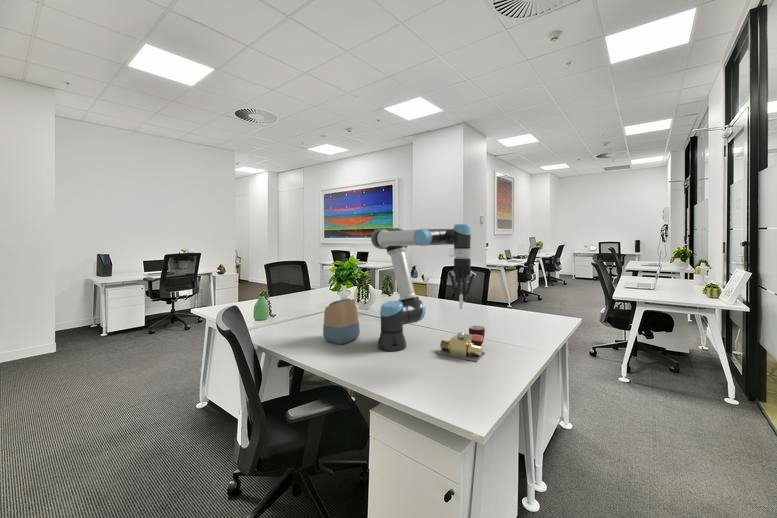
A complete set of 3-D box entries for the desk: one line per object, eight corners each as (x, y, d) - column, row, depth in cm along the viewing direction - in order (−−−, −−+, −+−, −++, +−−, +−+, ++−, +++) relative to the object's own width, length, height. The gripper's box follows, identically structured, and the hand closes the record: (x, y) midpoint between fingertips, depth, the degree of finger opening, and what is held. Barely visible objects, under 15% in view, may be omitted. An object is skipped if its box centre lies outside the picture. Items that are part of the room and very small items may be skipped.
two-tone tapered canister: (341, 334, 204) (340, 295, 202) (362, 338, 194) (361, 298, 192) (320, 341, 190) (319, 300, 188) (342, 346, 180) (341, 303, 179)
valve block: (437, 354, 168) (437, 338, 167) (446, 347, 178) (446, 332, 177) (476, 362, 157) (476, 345, 156) (484, 354, 167) (484, 338, 166)
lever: (456, 338, 166) (456, 333, 166) (459, 336, 169) (459, 331, 169) (480, 342, 159) (481, 337, 159) (483, 340, 162) (483, 335, 162)
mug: (482, 351, 171) (482, 331, 170) (466, 349, 174) (466, 330, 173) (485, 344, 180) (485, 326, 180) (470, 343, 184) (470, 324, 183)
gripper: (445, 258, 157) (445, 308, 159) (473, 258, 150) (473, 311, 152) (452, 256, 163) (452, 305, 165) (478, 257, 156) (478, 308, 158)
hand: (462, 308), depth 158 cm, fingers closed
